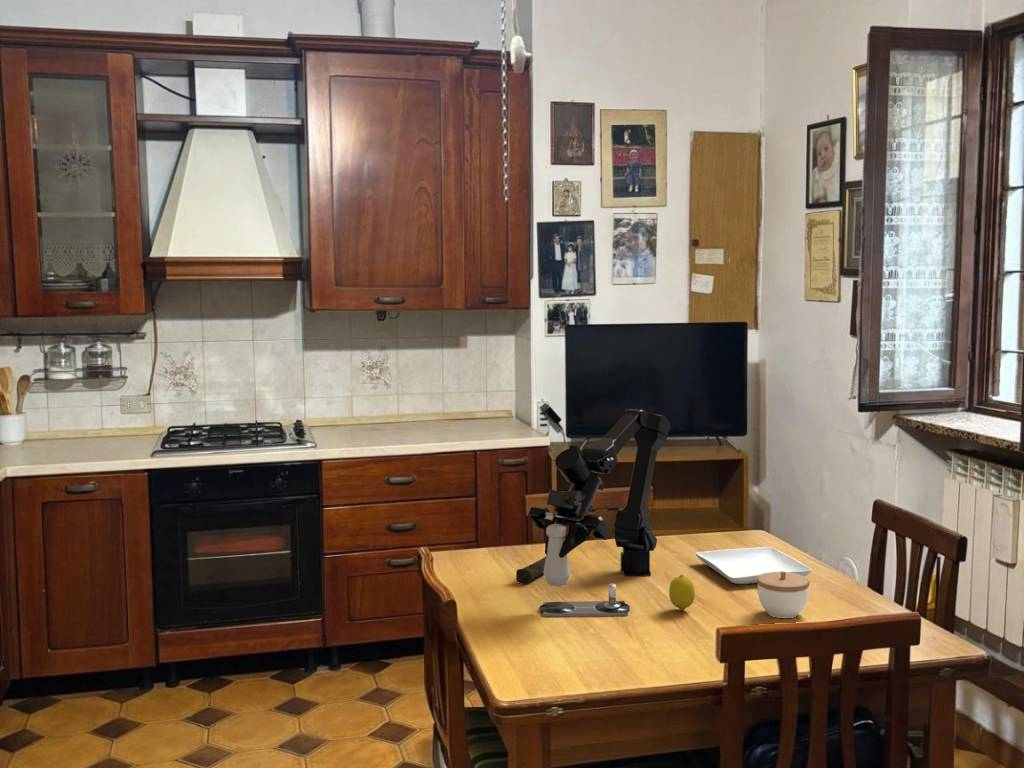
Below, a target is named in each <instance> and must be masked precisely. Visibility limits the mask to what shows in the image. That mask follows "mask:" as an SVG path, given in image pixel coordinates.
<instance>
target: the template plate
mask: <svg viewBox="0 0 1024 768" xmlns="http://www.w3.org/2000/svg"><path fill="white" fill-rule="evenodd" d="M606 602H609V600H589V601H588V600H587V601H586V600H585V601H583V600H582V601H579V600H577V601H574V600H573V601H543V602H542V604H541V605H540V606H539V612H540V613H541V614H543V617H544V618H545V617H546V618H547V617H548V618H551V617H555V618H557V617H563V618H565V617H628V616H629V612H630V611H631V606H630V605H629V604H628V603H625V600H616V602H618V603H620V604H621V608H619V609H616V610H609V609H606V608H604V603H606Z"/></svg>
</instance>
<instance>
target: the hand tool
mask: <svg viewBox="0 0 1024 768" xmlns="http://www.w3.org/2000/svg"><path fill="white" fill-rule="evenodd" d="M545 560H546V556H544V557H543V558H541V559H538V560H537V561H535V562H533V563H531V564H529V565H526V566H525V567H523V568H517V570H516V572H515V579H516V582H517V583H518V582H519V583H518V584H521V583H523V584H522V585H530V584H531V583H533V580H535V579H536V578H539V577H540V576H544V566H545Z"/></svg>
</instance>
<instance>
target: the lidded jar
mask: <svg viewBox="0 0 1024 768" xmlns="http://www.w3.org/2000/svg"><path fill="white" fill-rule="evenodd" d="M756 584H757V595H758V600H759V602H760V605H761V607H762V608H763V609H764V611H766V612H767V615H768V614H769V615H768V616H770V615H771V616H774V617H777V618H776V619H779V618H792V619H795V618H797V617H798V615H800V614H801V612H802V611H803V610H804V609H805V607H806V605H807V604H808V603H807V602H808V598H809V592H810V591H809V589H810V588H809V587H810V580H809V579H808V578H807V577H806V576H802V575H799V574H795V573H789V572H785V571H781V572H769V573H764V574H761V575H759V576H758V578H757V583H756ZM771 616H770V617H771ZM796 616H797V617H796ZM774 617H773V618H774ZM794 617H795V618H794Z"/></svg>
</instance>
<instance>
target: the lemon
mask: <svg viewBox="0 0 1024 768" xmlns="http://www.w3.org/2000/svg"><path fill="white" fill-rule="evenodd" d="M668 589H669V590H668V595H669V600H670V602H671V604H672V605H673V606H674V607H675V608H678V609H679V610H680V611H682V612H683V611H684V610H686V609H687V608H689V607H691V606H692V604H693V603H694V601H695V598H696V589H695V585H694V582H693V581H692V580H691V579H690V578H689V577H688V576H685V575H684V574H680V575H678V576H676V577H675V578H674V579H672V580H671V582H670V585H669V588H668Z"/></svg>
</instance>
